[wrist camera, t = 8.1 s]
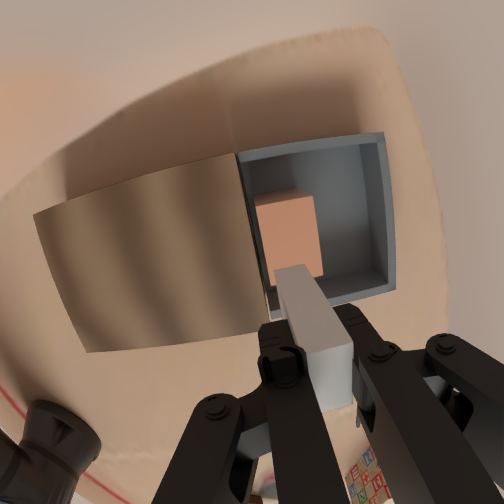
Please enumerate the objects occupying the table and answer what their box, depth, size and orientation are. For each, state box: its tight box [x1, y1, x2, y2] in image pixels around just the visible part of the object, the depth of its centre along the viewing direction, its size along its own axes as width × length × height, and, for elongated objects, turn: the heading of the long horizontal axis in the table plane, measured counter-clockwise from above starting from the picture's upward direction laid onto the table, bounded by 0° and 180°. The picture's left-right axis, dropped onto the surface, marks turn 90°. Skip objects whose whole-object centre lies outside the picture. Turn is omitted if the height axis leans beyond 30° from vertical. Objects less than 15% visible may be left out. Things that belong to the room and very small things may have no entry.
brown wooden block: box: [33, 153, 270, 353], centre depth 24 cm, size 18×14×6 cm
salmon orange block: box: [252, 187, 323, 286], centre depth 23 cm, size 6×6×4 cm
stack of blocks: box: [345, 446, 394, 504], centre depth 35 cm, size 21×6×12 cm, turn 171°
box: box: [237, 132, 396, 319], centre depth 25 cm, size 12×14×4 cm
